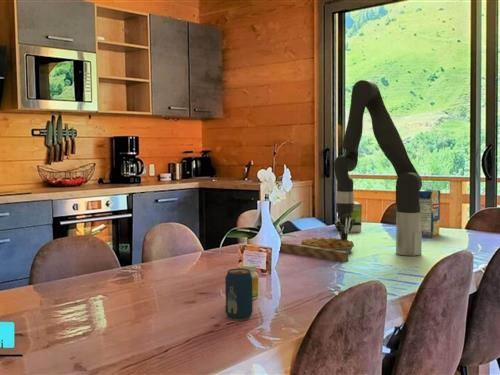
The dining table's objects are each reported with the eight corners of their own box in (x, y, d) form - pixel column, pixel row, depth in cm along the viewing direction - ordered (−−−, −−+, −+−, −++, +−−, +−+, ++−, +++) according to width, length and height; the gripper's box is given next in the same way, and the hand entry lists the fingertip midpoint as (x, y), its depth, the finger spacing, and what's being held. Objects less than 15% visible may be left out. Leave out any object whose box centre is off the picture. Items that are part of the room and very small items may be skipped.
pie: (336, 245, 253) (336, 234, 253) (364, 254, 233) (364, 242, 232) (292, 248, 245) (292, 237, 245) (316, 258, 225) (316, 245, 224)
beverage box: (417, 235, 282) (418, 190, 281) (426, 232, 291) (427, 189, 289) (430, 236, 278) (432, 191, 276) (439, 234, 286) (440, 190, 285)
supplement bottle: (240, 300, 162) (240, 267, 161) (238, 295, 167) (238, 263, 167) (259, 300, 162) (259, 266, 162) (257, 295, 168) (257, 263, 167)
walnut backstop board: (348, 260, 218) (348, 251, 218) (343, 262, 216) (343, 252, 216) (277, 249, 243) (277, 240, 243) (272, 250, 241) (272, 241, 241)
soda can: (252, 312, 150) (252, 267, 149) (252, 320, 143) (253, 273, 142) (225, 313, 150) (225, 267, 149) (225, 321, 143) (225, 273, 142)
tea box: (361, 232, 292) (362, 203, 291) (342, 232, 292) (342, 203, 291) (357, 228, 307) (357, 200, 306) (338, 228, 307) (338, 200, 306)
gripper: (343, 203, 239) (342, 244, 240) (360, 201, 248) (360, 240, 250) (328, 202, 244) (328, 242, 245) (346, 200, 254) (345, 238, 255)
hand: (344, 241), depth 248 cm, fingers closed
